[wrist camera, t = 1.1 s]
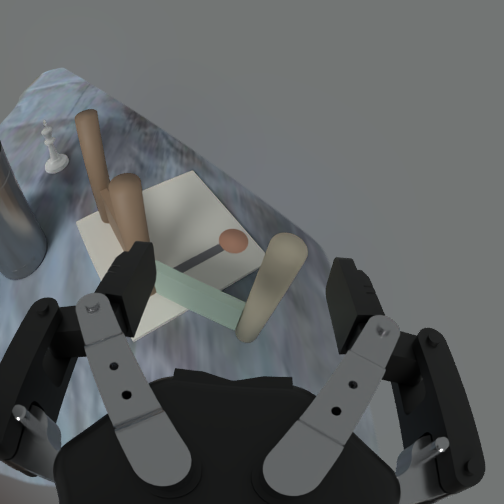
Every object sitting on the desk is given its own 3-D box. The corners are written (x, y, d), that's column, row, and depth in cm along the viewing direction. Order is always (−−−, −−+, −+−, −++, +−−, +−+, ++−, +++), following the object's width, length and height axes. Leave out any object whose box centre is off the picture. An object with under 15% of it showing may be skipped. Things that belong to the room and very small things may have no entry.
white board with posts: (76, 224, 38) (42, 125, 24) (192, 173, 47) (199, 76, 33) (133, 341, 31) (85, 262, 17) (269, 261, 40) (311, 160, 26)
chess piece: (65, 152, 46) (54, 109, 38) (71, 165, 44) (59, 120, 36) (43, 164, 43) (29, 121, 35) (48, 177, 42) (33, 133, 34)
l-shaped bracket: (153, 298, 33) (129, 197, 19) (164, 281, 35) (150, 174, 21) (252, 346, 32) (301, 272, 18) (261, 326, 34) (311, 242, 20)
